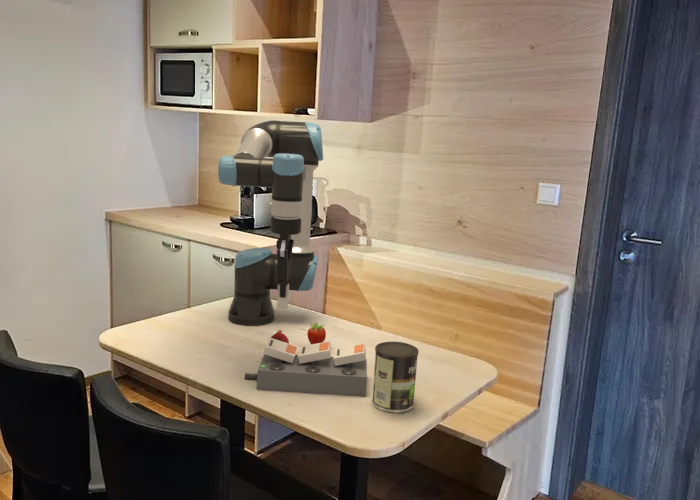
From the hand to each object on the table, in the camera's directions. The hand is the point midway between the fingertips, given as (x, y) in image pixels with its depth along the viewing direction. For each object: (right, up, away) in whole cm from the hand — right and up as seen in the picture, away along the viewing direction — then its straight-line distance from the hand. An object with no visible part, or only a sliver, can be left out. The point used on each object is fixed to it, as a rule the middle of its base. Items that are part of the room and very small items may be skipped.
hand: (282, 308), depth 161 cm
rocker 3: (+17, -12, +2) cm, 21 cm away
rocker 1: (-1, -12, +2) cm, 12 cm away
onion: (-3, -15, +17) cm, 23 cm away
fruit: (+7, -14, +26) cm, 30 cm away
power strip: (+6, -19, +1) cm, 20 cm away
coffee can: (+27, -23, -8) cm, 36 cm away
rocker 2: (+8, -11, +2) cm, 14 cm away
